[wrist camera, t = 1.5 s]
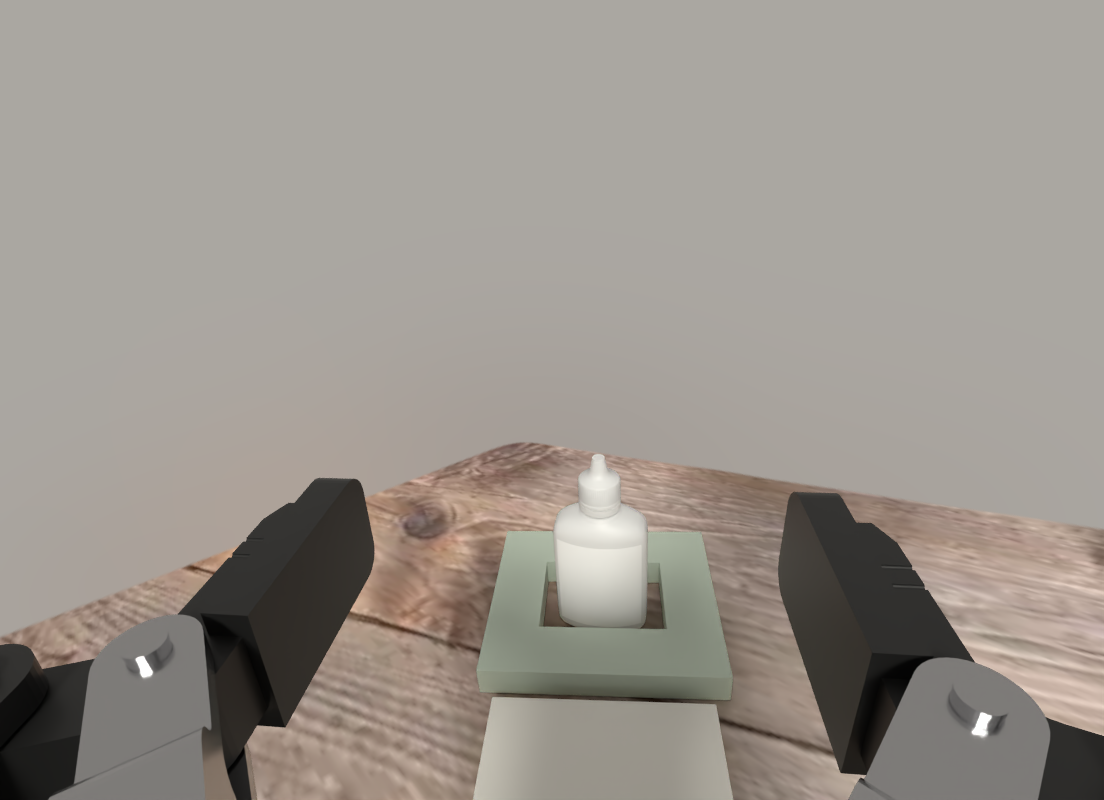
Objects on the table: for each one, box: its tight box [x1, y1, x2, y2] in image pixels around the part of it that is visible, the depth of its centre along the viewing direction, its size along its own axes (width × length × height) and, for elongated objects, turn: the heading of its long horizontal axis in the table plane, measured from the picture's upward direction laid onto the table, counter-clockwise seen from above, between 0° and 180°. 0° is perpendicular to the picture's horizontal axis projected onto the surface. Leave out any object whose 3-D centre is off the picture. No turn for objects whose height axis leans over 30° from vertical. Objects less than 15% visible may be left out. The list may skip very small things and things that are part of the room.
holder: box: [476, 531, 733, 700], centre depth 38 cm, size 14×12×2 cm
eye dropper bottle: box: [553, 454, 648, 629], centre depth 36 cm, size 4×6×12 cm
